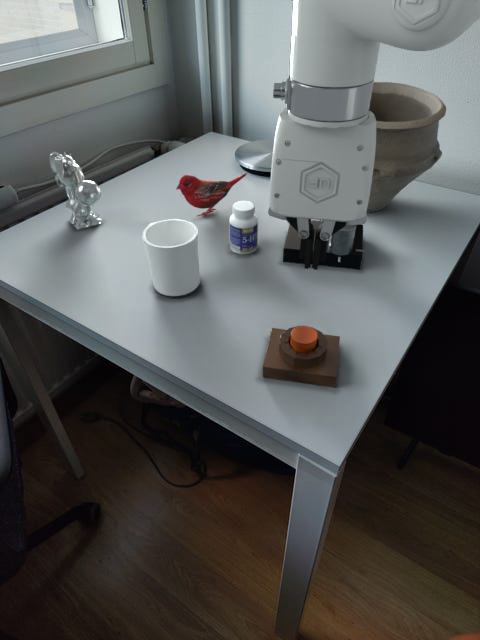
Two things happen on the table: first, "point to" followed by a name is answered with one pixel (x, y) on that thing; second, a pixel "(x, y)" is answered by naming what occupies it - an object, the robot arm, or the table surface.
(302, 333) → the button
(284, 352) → the button block
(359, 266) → the panel
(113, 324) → the table surface
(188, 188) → the decorative bird figurine
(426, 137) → the planter
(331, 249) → the hob knob
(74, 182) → the chrome statue
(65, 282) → the table surface
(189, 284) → the mug
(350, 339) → the table surface
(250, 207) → the pill bottle
